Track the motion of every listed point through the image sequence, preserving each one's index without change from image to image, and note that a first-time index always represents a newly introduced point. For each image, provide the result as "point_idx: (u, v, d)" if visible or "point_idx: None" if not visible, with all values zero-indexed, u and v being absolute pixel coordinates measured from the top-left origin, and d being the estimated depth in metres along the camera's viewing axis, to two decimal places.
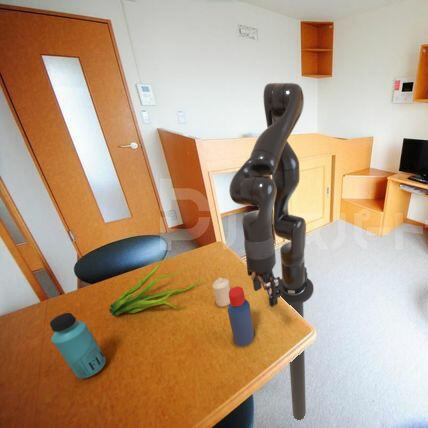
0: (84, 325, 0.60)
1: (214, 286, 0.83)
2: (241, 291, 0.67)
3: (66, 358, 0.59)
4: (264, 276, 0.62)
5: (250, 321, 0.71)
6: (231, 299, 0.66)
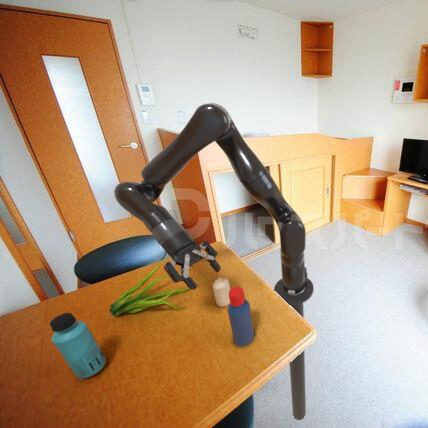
0: (84, 325, 0.60)
1: (214, 286, 0.83)
2: (241, 291, 0.67)
3: (66, 358, 0.59)
4: None
5: (250, 321, 0.71)
6: (231, 299, 0.66)
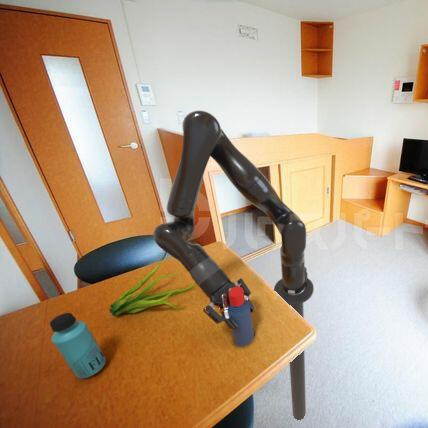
0: (84, 325, 0.60)
1: None
2: (241, 291, 0.67)
3: (66, 358, 0.59)
4: None
5: (250, 321, 0.71)
6: (231, 299, 0.66)
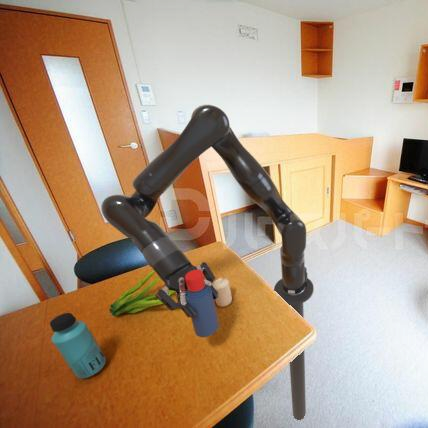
0: (84, 325, 0.60)
1: (214, 286, 0.83)
2: (200, 274, 0.59)
3: (66, 358, 0.59)
4: None
5: (212, 309, 0.64)
6: (188, 283, 0.58)
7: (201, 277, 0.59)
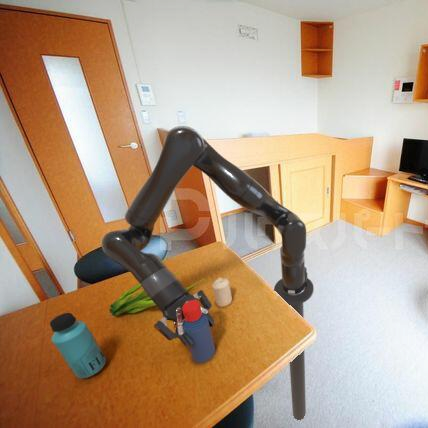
0: (84, 325, 0.60)
1: (214, 286, 0.83)
2: (196, 305, 0.62)
3: (66, 358, 0.59)
4: None
5: (208, 336, 0.67)
6: (184, 314, 0.61)
7: (197, 308, 0.62)
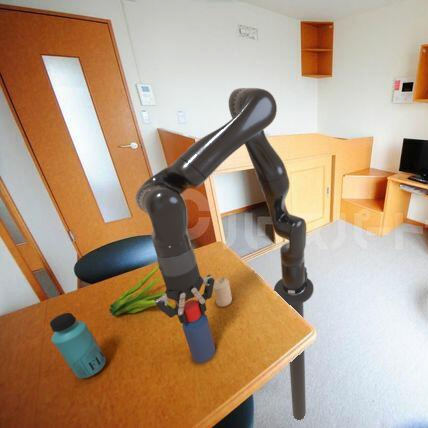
0: (84, 325, 0.60)
1: (214, 286, 0.83)
2: (196, 305, 0.62)
3: (66, 358, 0.59)
4: None
5: (208, 336, 0.67)
6: None
7: (197, 308, 0.62)
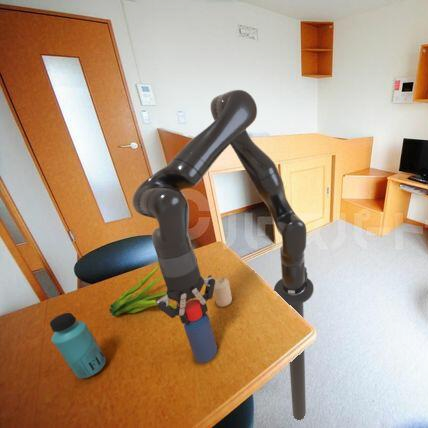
0: (84, 325, 0.60)
1: (214, 286, 0.83)
2: None
3: (66, 358, 0.59)
4: (199, 282, 0.61)
5: (210, 336, 0.66)
6: None
7: None
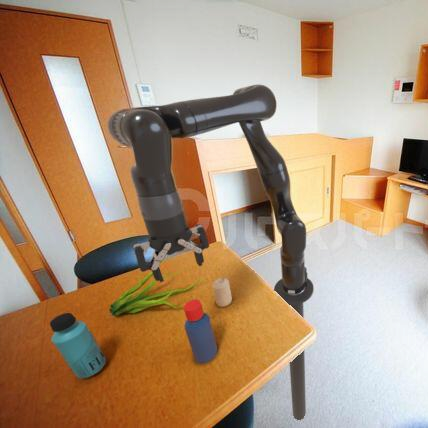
0: (84, 325, 0.60)
1: (214, 286, 0.83)
2: (186, 304, 0.62)
3: (66, 358, 0.59)
4: (186, 233, 0.54)
5: (210, 337, 0.67)
6: None
7: None
